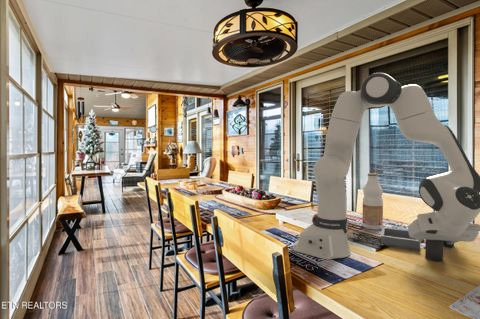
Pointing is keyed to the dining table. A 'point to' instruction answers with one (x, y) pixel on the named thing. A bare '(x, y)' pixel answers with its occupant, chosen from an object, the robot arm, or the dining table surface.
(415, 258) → the dining table surface
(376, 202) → the fruit juice
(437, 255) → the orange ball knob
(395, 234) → the open square box
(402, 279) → the dining table surface
